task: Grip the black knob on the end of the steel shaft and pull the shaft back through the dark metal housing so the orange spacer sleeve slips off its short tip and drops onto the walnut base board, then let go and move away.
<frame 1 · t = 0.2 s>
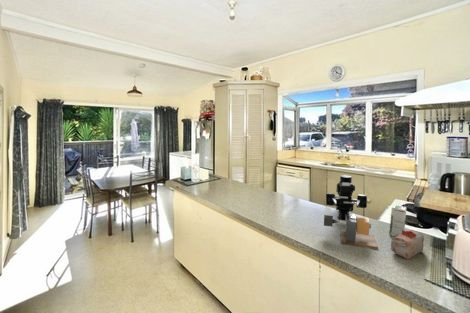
hand: (346, 205, 115), 17 cm above the worktop, tool horizontal, fingers open, 9 cm apart
shaft: (346, 223, 116), point 8 cm above the worktop, slide at 0.0 cm, touching spacer
stand: (354, 239, 115), on the worktop
syrup box: (396, 235, 120), on the worktop
food item: (406, 253, 103), on the worktop
spacer: (361, 231, 114), point 5 cm above the worktop, touching shaft
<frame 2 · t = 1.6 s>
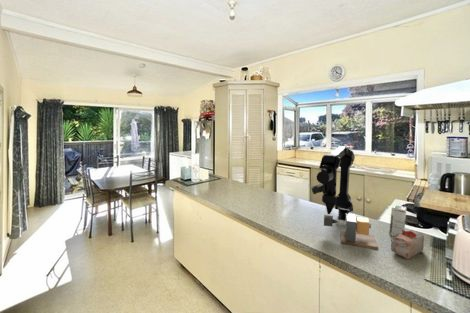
hand: (328, 210, 118), 13 cm above the worktop, tool pointing down, fingers open, 9 cm apart
nothing on the worktop moved.
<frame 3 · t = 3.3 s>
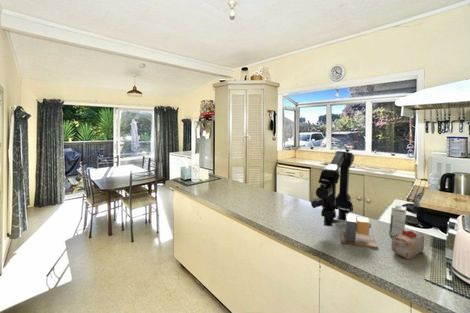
hand: (328, 224, 119), 6 cm above the worktop, tool pointing down, fingers closed on shaft, 4 cm apart
shaft: (346, 223, 116), point 8 cm above the worktop, slide at 0.0 cm, touching gripper, spacer
everything else where it was.
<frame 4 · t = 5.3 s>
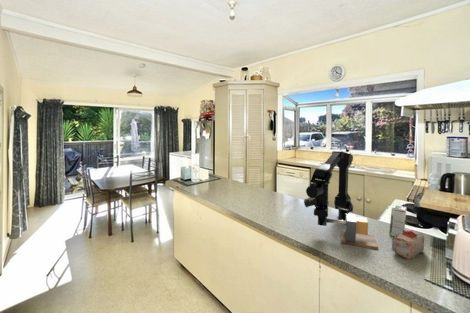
hand: (321, 223, 121), 6 cm above the worktop, tool pointing down, fingers closed on shaft, 4 cm apart
shaft: (340, 222, 117), point 8 cm above the worktop, slide at 2.8 cm, touching gripper, spacer
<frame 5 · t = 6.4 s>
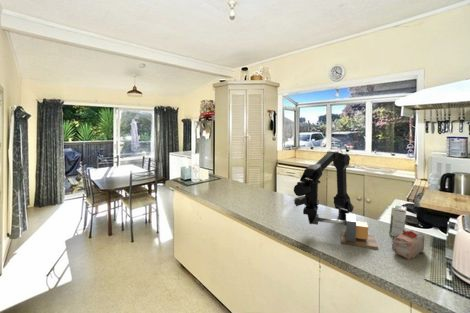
hand: (311, 222, 122), 6 cm above the worktop, tool pointing down, fingers closed on shaft, 4 cm apart
shaft: (331, 221, 118), point 8 cm above the worktop, slide at 6.8 cm, touching gripper
spacer: (360, 235, 114), point 2 cm above the worktop
everything else where it was.
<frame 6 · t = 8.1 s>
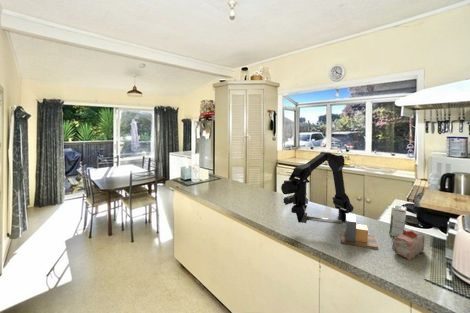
hand: (299, 220, 124), 6 cm above the worktop, tool pointing down, fingers closed on shaft, 4 cm apart
shaft: (319, 219, 121), point 8 cm above the worktop, slide at 12.4 cm, touching gripper
spacer: (360, 238, 114), point 1 cm above the worktop, touching stand
everything else where it was.
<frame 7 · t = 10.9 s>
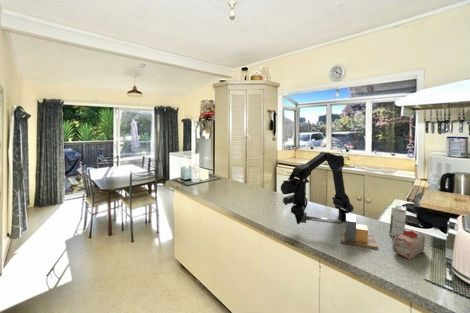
hand: (299, 220, 125), 6 cm above the worktop, tool pointing down, fingers open, 9 cm apart
shaft: (319, 219, 121), point 8 cm above the worktop, slide at 12.6 cm
everything else where it was.
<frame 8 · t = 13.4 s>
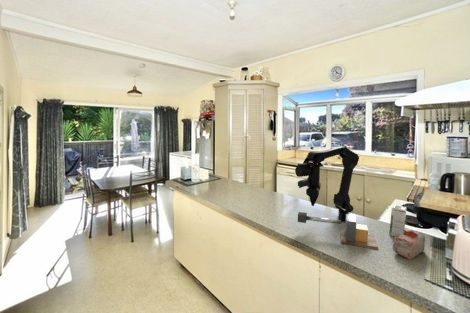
hand: (313, 203, 131), 13 cm above the worktop, tool pointing down, fingers open, 9 cm apart
nothing on the worktop moved.
at the end: shaft slide at 12.6 cm; spacer point 1.0 cm above the worktop; spacer touching stand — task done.
